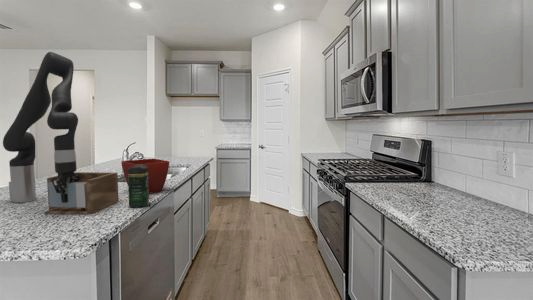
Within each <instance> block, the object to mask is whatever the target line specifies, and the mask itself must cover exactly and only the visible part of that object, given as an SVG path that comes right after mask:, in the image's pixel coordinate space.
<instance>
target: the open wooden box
mask: <svg viewBox="0 0 533 300" xmlns="http://www.w3.org/2000/svg"><path fill="white" fill-rule="evenodd" d="M74 173H75V175H76V176H80V178H79V182H86V183H87V202H88V207H86V208H77V207H50V205H49V190H48V183H52V181H55V180H56V179H57V176H58V175H56V176H55V175H54V176H50V177H47V178H46V184H47V186H46V187H47V200H48V201H47V202H48V210H46V211H44V212H43V215H45V214H46V215H88V214H89V215H93V214H96V213H97V212H100V211H102V210H104V209H107V208H108V207H111V206H112V205H115V204H117V203H118V202H119V184H118V183H119V181H118V180H119V179H118V172H100V171H99V172H94V171H93V172H92V171H91V172H84V171H83V172H82V171H81V172H80V171H79V172H77V171H75V172H74Z"/></svg>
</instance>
